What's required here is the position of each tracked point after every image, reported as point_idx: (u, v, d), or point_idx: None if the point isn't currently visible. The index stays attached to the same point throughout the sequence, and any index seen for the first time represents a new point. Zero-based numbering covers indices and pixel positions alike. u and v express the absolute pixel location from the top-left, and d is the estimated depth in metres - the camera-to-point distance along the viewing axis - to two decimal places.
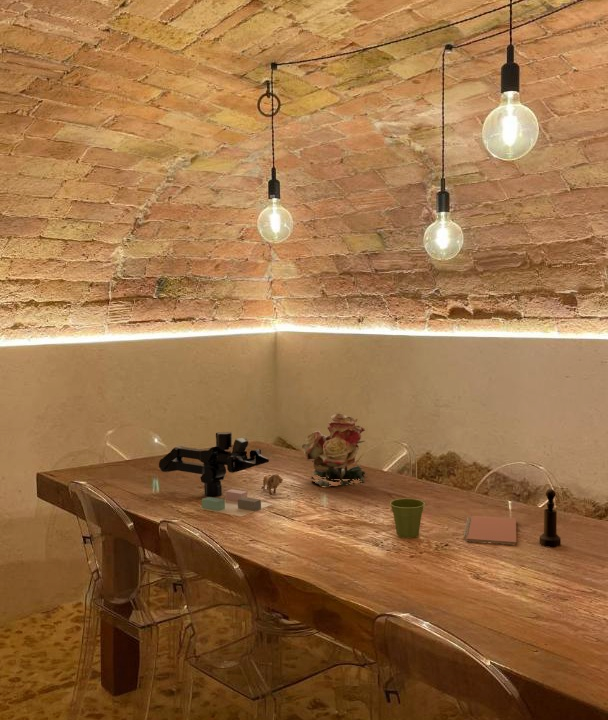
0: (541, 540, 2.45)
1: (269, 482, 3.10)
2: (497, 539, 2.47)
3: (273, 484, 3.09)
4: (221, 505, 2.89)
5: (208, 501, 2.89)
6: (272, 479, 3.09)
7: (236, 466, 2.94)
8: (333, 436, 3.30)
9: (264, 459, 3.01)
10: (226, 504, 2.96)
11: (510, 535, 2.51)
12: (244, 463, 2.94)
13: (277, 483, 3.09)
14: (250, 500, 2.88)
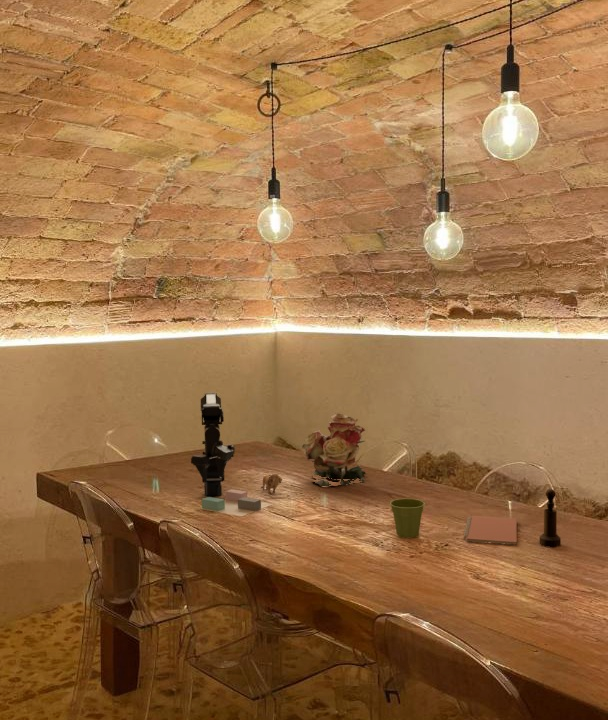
0: (541, 540, 2.45)
1: (268, 482, 3.11)
2: (497, 539, 2.47)
3: (272, 484, 3.10)
4: (221, 505, 2.89)
5: (208, 501, 2.89)
6: (271, 479, 3.10)
7: None
8: (333, 436, 3.30)
9: (221, 471, 2.94)
10: (226, 504, 2.96)
11: (510, 535, 2.51)
12: (203, 471, 2.85)
13: (276, 483, 3.09)
14: (250, 500, 2.88)
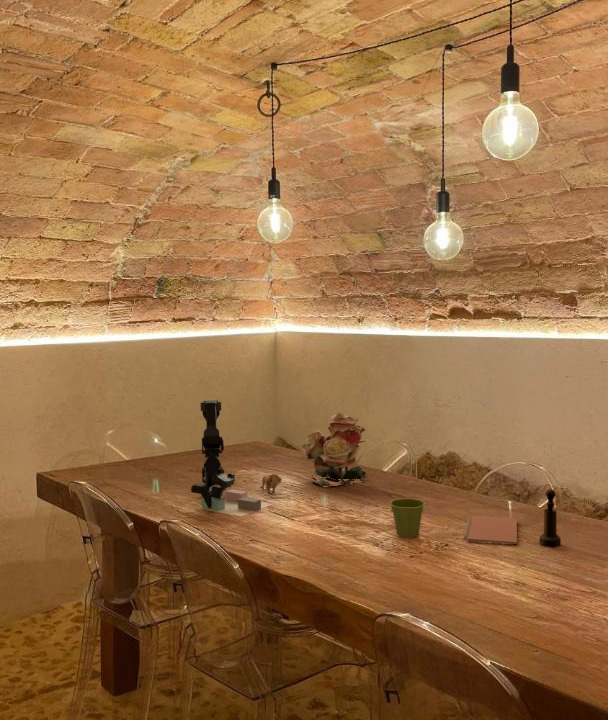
0: (541, 540, 2.45)
1: (268, 482, 3.11)
2: (497, 539, 2.47)
3: (272, 484, 3.10)
4: (221, 505, 2.89)
5: None
6: (271, 479, 3.10)
7: None
8: (333, 436, 3.30)
9: None
10: (226, 504, 2.96)
11: (511, 535, 2.51)
12: (208, 498, 2.88)
13: (276, 483, 3.10)
14: (250, 500, 2.88)
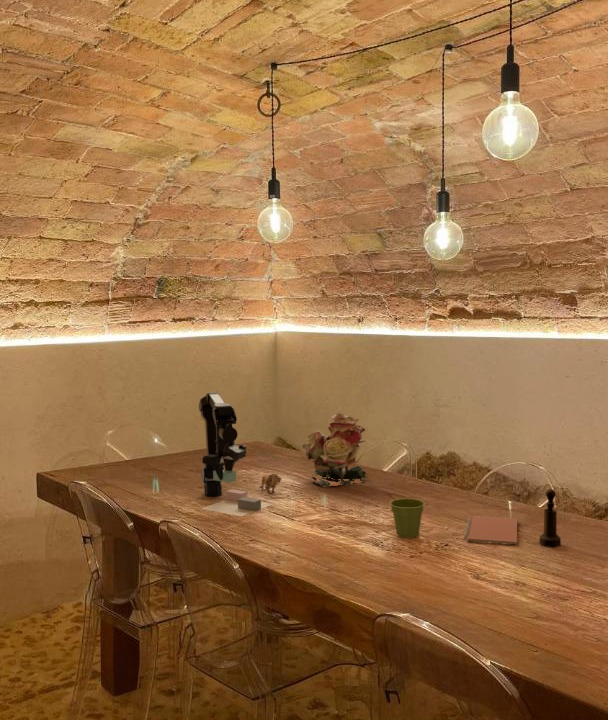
0: (541, 540, 2.45)
1: (268, 481, 3.12)
2: (498, 539, 2.47)
3: (272, 483, 3.10)
4: (232, 477, 2.87)
5: None
6: (271, 478, 3.11)
7: None
8: (334, 436, 3.30)
9: None
10: (226, 504, 2.96)
11: (511, 535, 2.51)
12: (219, 470, 2.86)
13: (276, 482, 3.10)
14: (250, 500, 2.88)
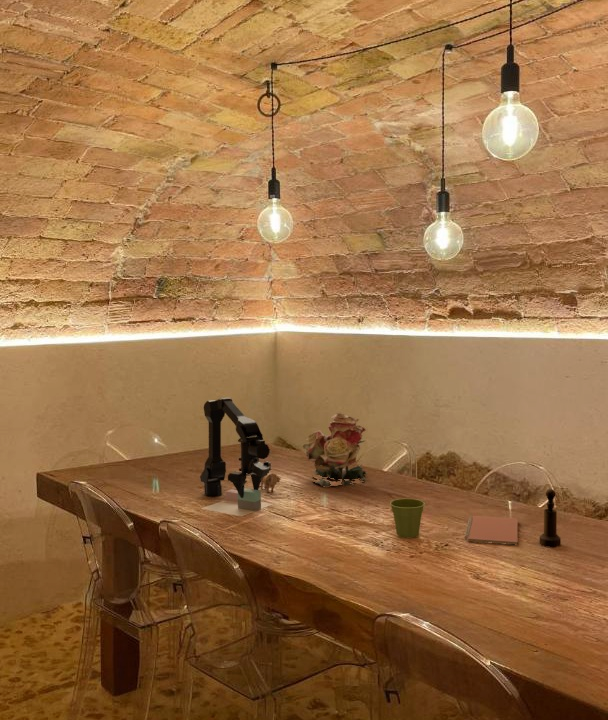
0: (541, 540, 2.45)
1: (267, 481, 3.12)
2: (498, 539, 2.47)
3: (271, 483, 3.11)
4: (257, 496, 2.87)
5: (244, 492, 2.88)
6: (270, 478, 3.11)
7: (235, 482, 2.84)
8: (334, 436, 3.30)
9: (256, 488, 2.93)
10: (226, 504, 2.96)
11: (511, 535, 2.51)
12: (240, 488, 2.85)
13: (275, 482, 3.11)
14: None
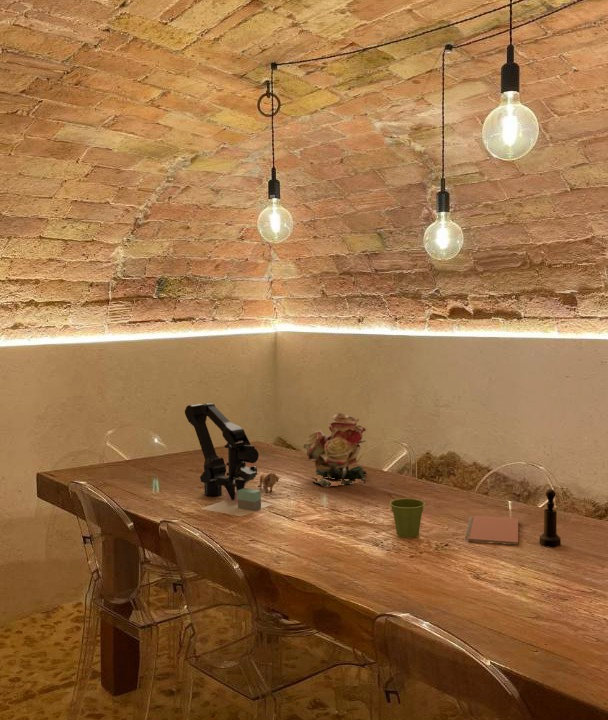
0: (541, 540, 2.45)
1: (266, 481, 3.13)
2: (499, 539, 2.47)
3: (270, 483, 3.12)
4: (257, 496, 2.87)
5: (244, 492, 2.88)
6: (269, 478, 3.12)
7: None
8: (334, 436, 3.30)
9: None
10: (226, 504, 2.96)
11: (512, 535, 2.51)
12: (231, 490, 2.99)
13: (273, 482, 3.12)
14: None
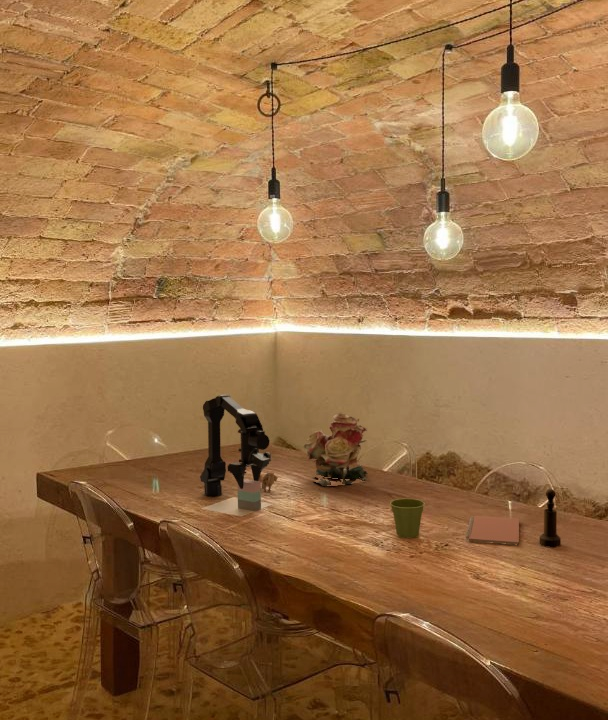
0: (541, 540, 2.45)
1: (264, 480, 3.14)
2: (499, 539, 2.47)
3: (268, 482, 3.13)
4: (257, 496, 2.87)
5: (244, 492, 2.88)
6: (267, 477, 3.13)
7: (234, 473, 2.83)
8: (335, 436, 3.30)
9: (256, 479, 2.93)
10: (226, 504, 2.96)
11: (513, 535, 2.51)
12: (240, 479, 2.84)
13: (272, 481, 3.13)
14: None
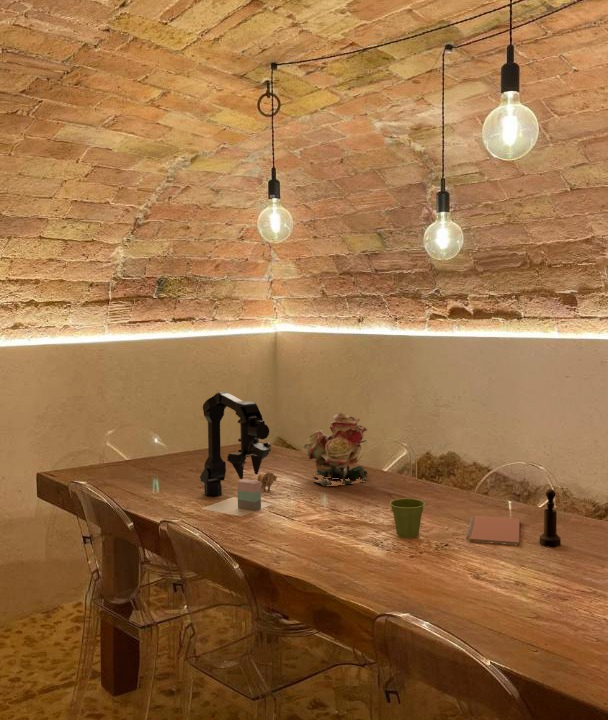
0: (541, 540, 2.45)
1: (263, 480, 3.14)
2: (500, 539, 2.47)
3: (267, 482, 3.13)
4: (257, 496, 2.87)
5: (244, 492, 2.88)
6: (266, 477, 3.13)
7: (234, 463, 2.83)
8: (335, 436, 3.30)
9: (256, 469, 2.92)
10: (226, 504, 2.96)
11: (513, 535, 2.51)
12: (239, 469, 2.84)
13: (271, 481, 3.13)
14: None
